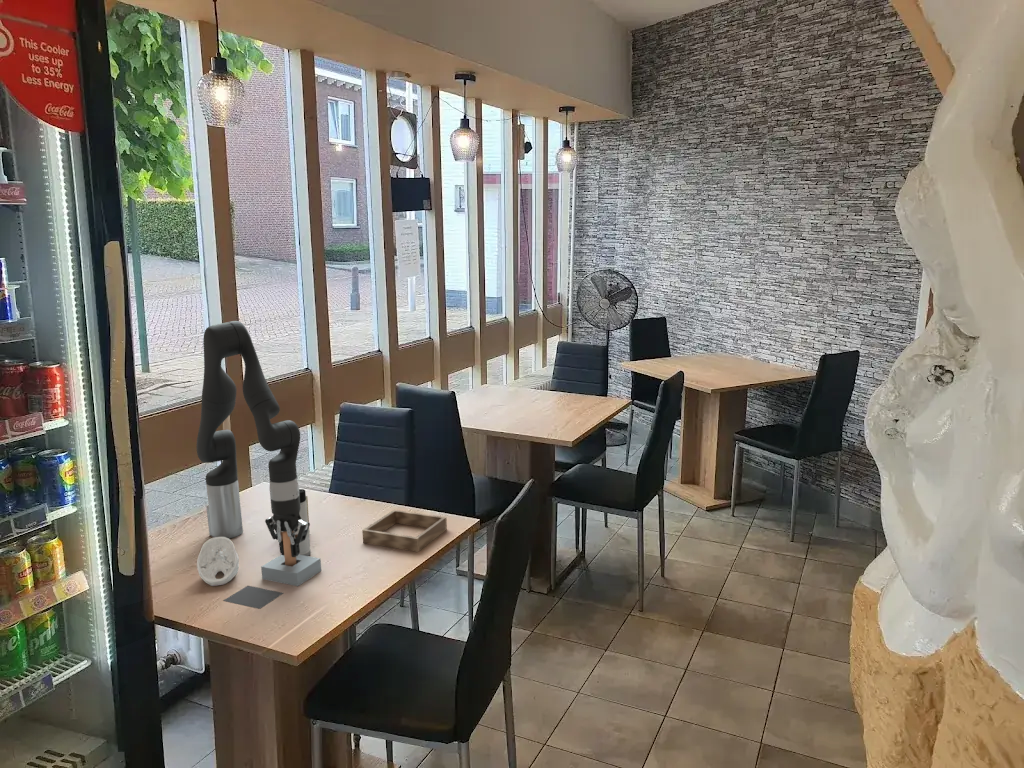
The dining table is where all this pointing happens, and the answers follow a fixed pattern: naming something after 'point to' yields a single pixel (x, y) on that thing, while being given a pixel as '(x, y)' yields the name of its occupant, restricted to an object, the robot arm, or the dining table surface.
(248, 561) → the dining table surface
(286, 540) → the peg
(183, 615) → the dining table surface
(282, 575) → the block
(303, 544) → the travel mug
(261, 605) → the mat
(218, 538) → the skull bowl
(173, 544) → the dining table surface
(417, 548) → the square wooden frame
